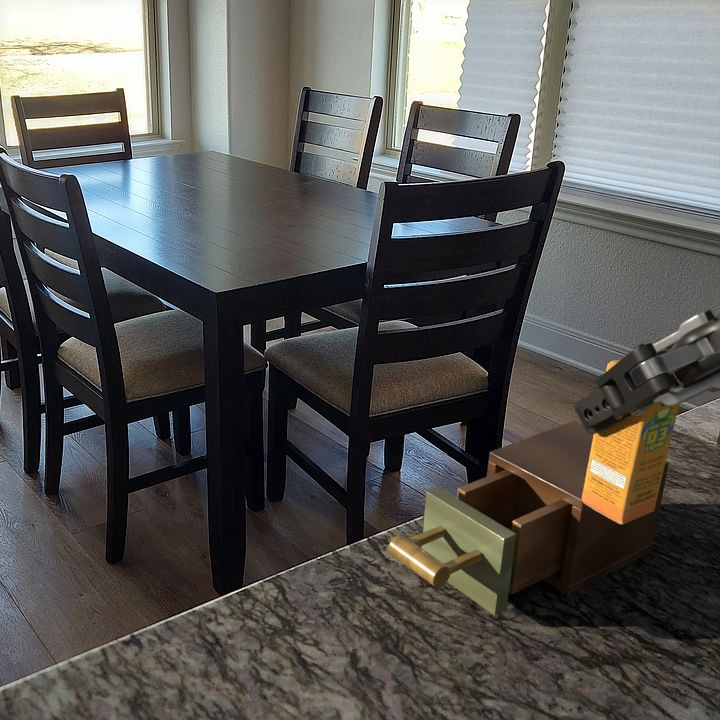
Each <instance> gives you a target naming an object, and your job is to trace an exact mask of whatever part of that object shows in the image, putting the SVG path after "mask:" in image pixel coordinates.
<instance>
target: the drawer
mask: <svg viewBox="0 0 720 720" xmlns="http://www.w3.org/2000/svg"><path fill="white" fill-rule="evenodd" d="M572 506H573V505H571V504H570V503H568V502H566V501H564V500H562V499H560V498H558V497H556V496H555V495H553V494H551V493H549V492H547V491H545V490H543V489H541V488H539V487H538V486H536V485H534V484H532V483H530V482H528V481H526V480H524V479H523V478H521V477H519V476H517V475H515V474H513V473H511V472H509V471H508V470H503V471H500V472H498V473H495V474H493V475H490V476H488V477H487V476H485V477H482V478H480V479H477V480H475V481H472V482H470V483H468V484H465V485H463V486H460V487H457V491H456V496H454V495H453V494H451V493H449V492H447V490H444V489H442V488H441V487H439V486H436V487H434V488H431V489H428V490H426V492H425V506H424V515H423V516H424V517H423V529H422V533H419V534H417V535H414V536H411V537H410V538H407V537H406V536H404V535H402V534H398V535H396V536H394V537H393V538H392V539H391V541H390V542H389V544H388V548H387V549H388V553H389V554H390V555H391V556H392V557H393V558H395V559H396V560H398V561H399V562H400V563H402V564H403V566H404V565H405V567H407V568H408V569H410V570H411V571H413V572H414V573H415V574H417V575H418V576H419V577H421V578H422V579H423V580H424V581H426V582H427V583H429V584H430V585H432V586H433V587H434V588H442V587H443V586H445V585H446V584H447V583H448V584H449V585H451V586H452V587H454V588H455V589H456V590H458V591H459V592H461V593H462V594H463V595H465V596H466V597H468V598H469V599H470V600H472V601H473V602H475V603H476V604H477V605H479V606H480V607H482V608H483V609H484V610H486V611H487V612H488V613H490V614H491V615H493V616H494V617H495V616H497V615H499V614H501V613H504V612H505V611H507V610H508V609H507V608H508V601H509V594H510V595H515V594H516V593H518V592H520V591H522V590H524V589H526V588H528V587H530V586H532V585H534V584H537V583H538V582H540V581H543V580H542V579H544V578H546V577H548V576H550V575H552V574H554V573H556V572H558V571H560V570H562V569H563V563H564V556H565V550H566V544H567V537H568V531H569V525H570V519H571V512H572Z"/></svg>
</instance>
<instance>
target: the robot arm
mask: <svg viewBox="0 0 720 720" xmlns="http://www.w3.org/2000/svg"><path fill="white" fill-rule="evenodd" d="M619 360H620V361H619V362H618V363H616V364H615V365H614V366H613V367H611V368H610V369H609V370H608V371H607V372H606V371H605V372H604V373H602V374H601V375H599V377H598V378H597V379H596V380H595V384H596V386H597V388H598V389H597V390H595V391H593V392H591V393H589V394H588V395H586V396H584V397H583V398H581V399H579V400H577V401H576V402H575V404H574V411H575V414H576V415H577V417H578V418H579V420H580V423H581V424H583V426H584V428H585V430H586V431H587V432H588V433H589V434H592V435H593V434H596V433H599V432H602V431H604V430H606V429H608V428H610V427H612V426H614V425H616V424H618V423H620V422H621V421H623V420H625V419H627V418H629V417H631V416H634V415H636V416H640V415H642V414H644V413H645V411H646V410H648V409H650V408H652V407H654V406H656V405H658V404H660V403H663V404H664V405H667V406H672V405H676V404H679V405H680V404H683V403H686V402H688V401H690V400H692V399H694V398H696V397H698V396H701V395H702V394H705V393H707V392H710V393H716V392H719V391H720V310H719V311H718V312H716V313H715V311H714V309H713V308H709V309H706V310H704V311H701V312H699V313H697V314H695V315H694V316H692V317H690V318H688V319H686V320H684V321H683V322H682V323H680V325H679V326H678V329H677V330H676V331H674V332H673V333H671V334H669V335H666V336H665V337H663V338H662V339H660V340H658V341H656V342H654V343H652V342H648V343H646V344H644V343H640V344H638V345H636V346H634V347H633V350H631V351H630V352H628V353H627V354H626V355H625V356H623V357H622V358H621V359H619ZM673 373H674V374H675V375H676V377H677V379H678V380H679V381H680V382H682V383H683V384H684V387H681V386H680V384H679V383H678V381H677V379H676V377H675V376H674V374H673Z"/></svg>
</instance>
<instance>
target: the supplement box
mask: <svg viewBox="0 0 720 720" xmlns="http://www.w3.org/2000/svg"><path fill="white" fill-rule="evenodd" d="M620 360H621V359H615V360H611V361H610V362H608V363H607V365H606V369H605V372H607V371H608V370H609V369H610V368H611V367H613V366H614V365H615V364H616V363H618V362H619V361H620ZM673 374H674V373H673ZM674 376H675V377H676V375H675V374H674ZM676 379H677V377H676ZM677 381H678V383H679V384H680V386H681V387H684V384H683V383H682V382H680V381H679V380H678V379H677ZM679 406H680V404H676V405H672V406H667V405H664V404H663V403H660V404H658V405H656V406H654V407H652V408H650V409H648V410H646V411H645V413H644V414H642V415H640V416H636V415H634V416H631V417H629V418H627V419H625V420H623V421H621V422H620V423H618V424H616V425H614V426H612V427H610V428H608V429H606V430H604V431H602V432H599V433H596V434H594V436H593V441H592V447H591V452H590V457H589V462H588V468H587V473H586V478H585V484H584V489H583V495H582V501H583V503H584V504H586V505H588V506H589V507H591V508H592V509H594V510H596V511H597V512H599V513H601V514H603V515H604V516H606V517H608V518H610V519H611V520H613V521H615V522H617V523H619V524H626V523H628V522H630V521H633V520H635V519H637V518H639V517H642V516H644V515H646V514H649V513H651V512H653V511H654V509H655V504H656V500H657V496H658V491H659V487H660V483H661V479H662V475H663V471H664V466H665V462H666V461H667V458H668V455H669V449H670V445H671V442H672V436H673V434H674V433H673V432H674V429H675V424H676V421H677V416H678V411H679Z"/></svg>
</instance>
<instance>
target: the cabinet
mask: <svg viewBox="0 0 720 720" xmlns="http://www.w3.org/2000/svg"><path fill="white" fill-rule="evenodd" d="M593 436H594V434H593V435H592V434H589V433H588V432H587V431H586V430H585V428H584V426H583V424H582V422H579V421H576V420H572V421H569V422H566V423H564V424H561V425H559V426H556V427H552V428H550V429H547V430H544V431H542V432H540V433H537V434H534V435H531V436H529V437H526V438H524V439H521V440H518V441H515V442H512V443H510V444H506V445H504V446H502V447H499V448H497V449H494V450H492V451H490V452H489V453H488V454H489V456H488V463H487V472H486V477H488V476H490V475H493V474H495V473H498V472H500V471H503V470H508V471H509V472H511V473H513V474H515V475H517V476H519V477H521V478H523V479H524V480H526V481H528V482H530V483H532V484H534V485H536V486H538V487H539V488H541V489H543V490H545V491H547V492H549V493H551V494H553V495H555V496H556V497H558V498H560V499H562V500H564V501H566V502H568V503H570V504H571V505H573V506H572V512H571V519H570V525H569V531H568V537H567V544H566V550H565V556H564V563H563V569H562V570H560V571H558V572H556V573H554V574H552V575H550V576H548V577H546V578H544V579H542V580H541V581H544V582H545V583H547V584H548V585H550V586H552V587H553V588H554V589H556V590H558V591H560V592H561V593H562V594H564V595H566V596H570V595H572V594H573V593H575V592H578V591H579V590H582V589H583V588H585V587H587V586H590V585H591V584H593V583H595V582H597V581H599V580H601V579H602V578H605V577H606V576H608V575H610V574H612V573H614V572H616V571H618V570H620V569H621V568H623V567H625V566H627V565H629V564H631V563H633V562H635V561H636V560H639V559H640V558H643V557H645V556H646V555H648V554H650V553H652V549H653V545H654V544H653V543H654V540H655V534H656V529H657V524H658V520H659V516H660V510H661V505H662V500H663V495H664V491H665V485H666V480H667V476H668V471H669V466H670V462H669V461H668V460H666V462H665V466H664V471H663V475H662V479H661V483H660V487H659V491H658V496H657V500H656V504H655V509H654V511H653V512H651V513H649V514H646V515H644V516H642V517H639V518H637V519H635V520H633V521H630V522H628V523H626V524H619V523H617V522H615V521H613V520H611V519H610V518H608V517H606V516H604V515H603V514H601V513H599V512H597V511H596V510H594V509H592V508H591V507H589V506H588V505H586V504H584V503H583V501H582V495H583V489H584V484H585V478H586V473H587V468H588V462H589V457H590V452H591V447H592V441H593Z"/></svg>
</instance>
